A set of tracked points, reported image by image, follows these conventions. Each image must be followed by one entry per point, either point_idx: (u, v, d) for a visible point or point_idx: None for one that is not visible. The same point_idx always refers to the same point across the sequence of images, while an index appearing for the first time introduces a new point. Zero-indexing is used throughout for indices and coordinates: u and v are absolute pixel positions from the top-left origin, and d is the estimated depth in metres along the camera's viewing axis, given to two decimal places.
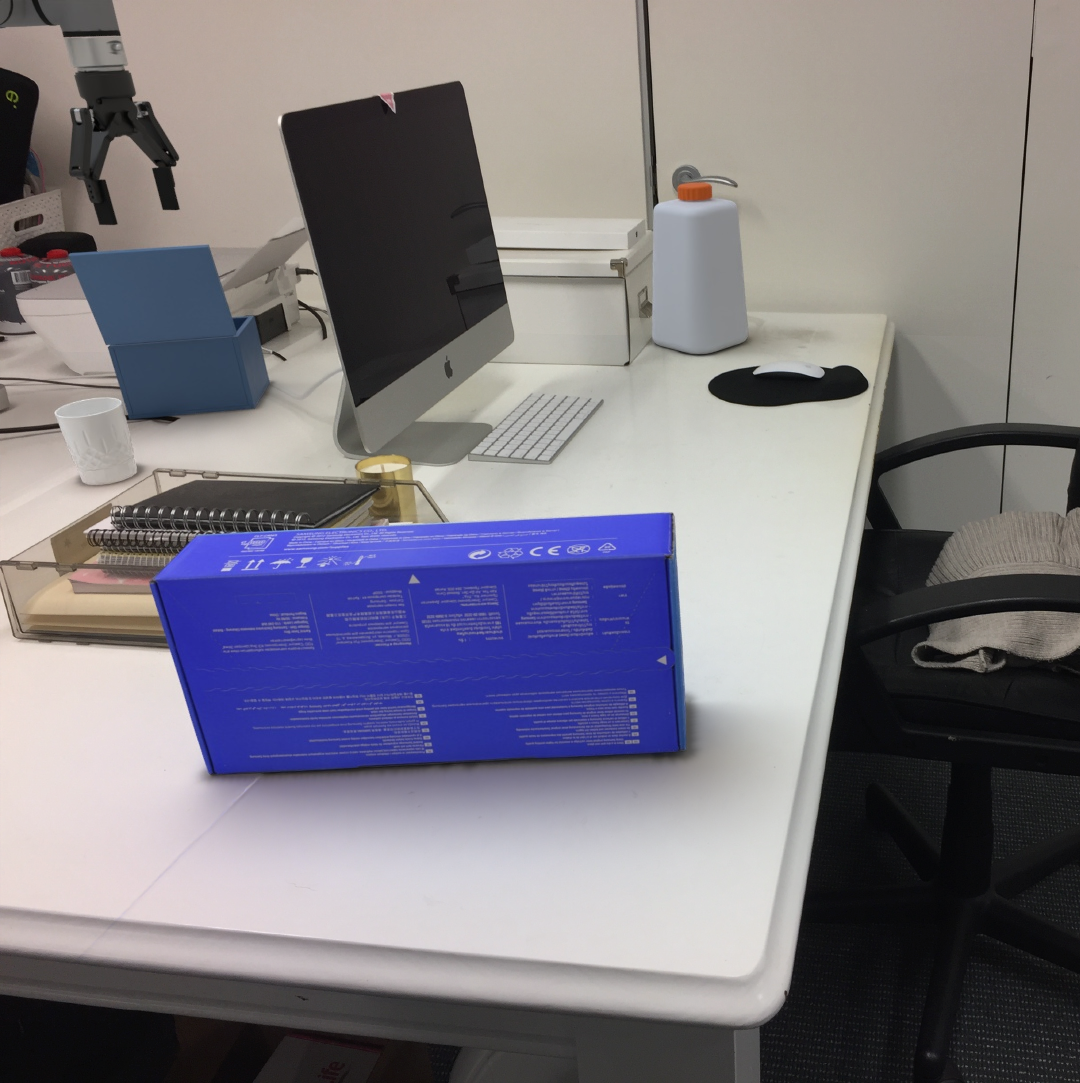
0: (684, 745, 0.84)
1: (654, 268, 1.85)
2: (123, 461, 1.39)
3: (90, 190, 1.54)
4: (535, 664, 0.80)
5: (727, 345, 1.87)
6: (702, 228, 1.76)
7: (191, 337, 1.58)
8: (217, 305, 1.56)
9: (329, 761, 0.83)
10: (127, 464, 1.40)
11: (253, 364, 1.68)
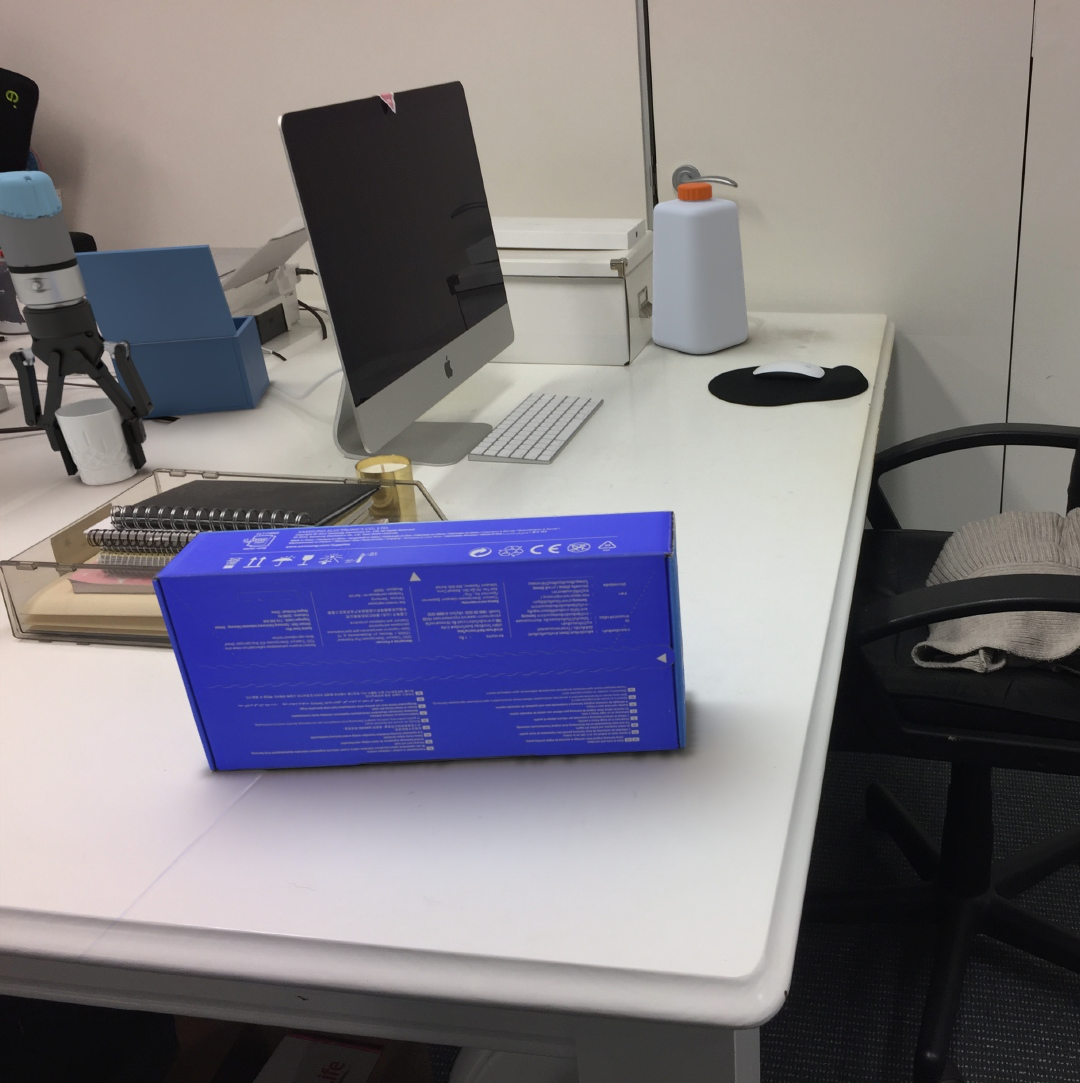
0: (684, 743, 0.84)
1: (654, 268, 1.85)
2: (123, 461, 1.39)
3: None
4: (535, 661, 0.80)
5: (727, 345, 1.87)
6: (702, 228, 1.76)
7: (191, 337, 1.58)
8: (217, 305, 1.56)
9: (330, 758, 0.84)
10: (127, 464, 1.40)
11: (253, 364, 1.68)
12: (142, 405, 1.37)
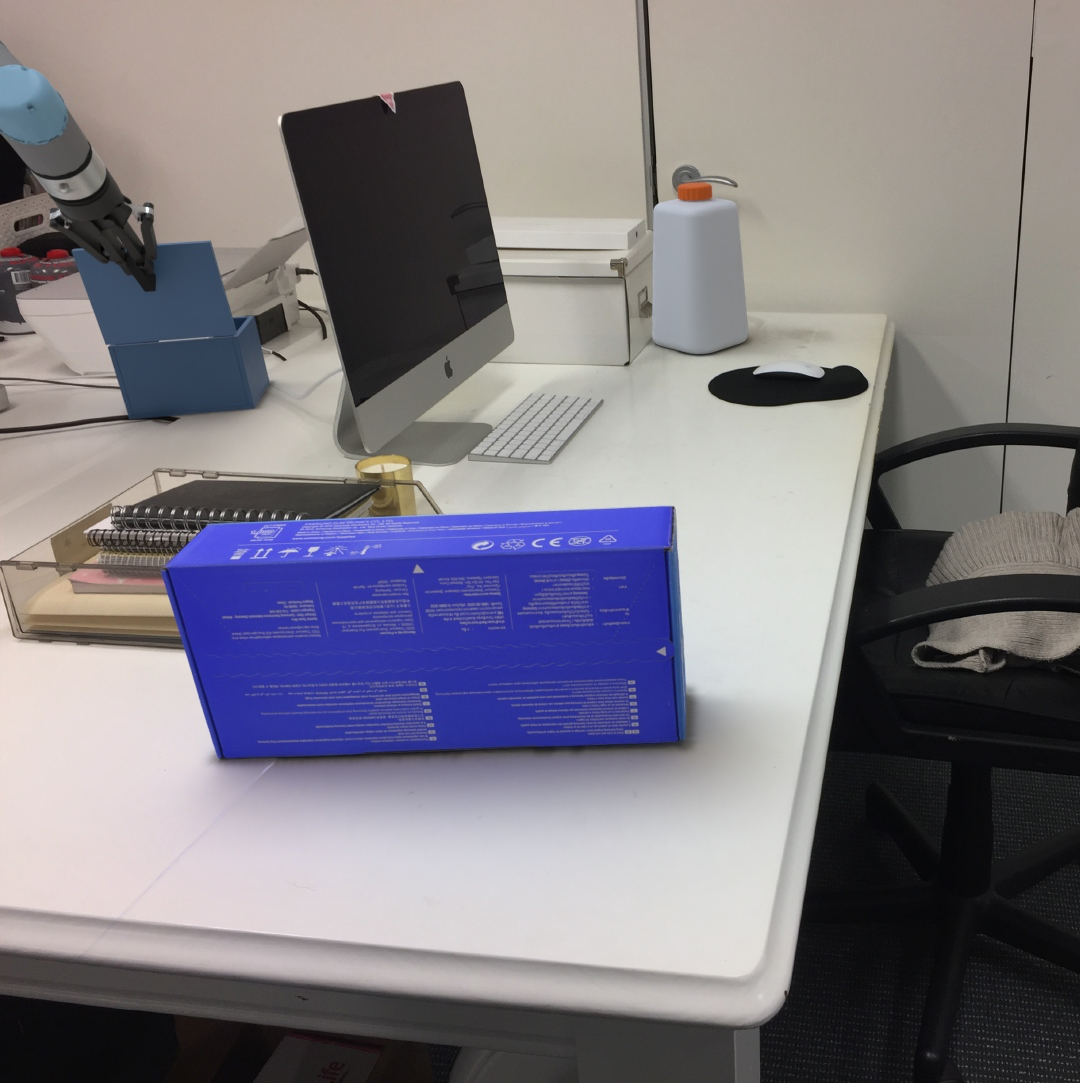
0: (683, 736, 0.85)
1: (654, 268, 1.85)
2: None
3: None
4: (537, 654, 0.81)
5: (727, 345, 1.87)
6: (702, 228, 1.76)
7: (191, 337, 1.58)
8: (218, 303, 1.56)
9: (335, 747, 0.85)
10: None
11: (253, 364, 1.68)
12: (152, 254, 1.43)
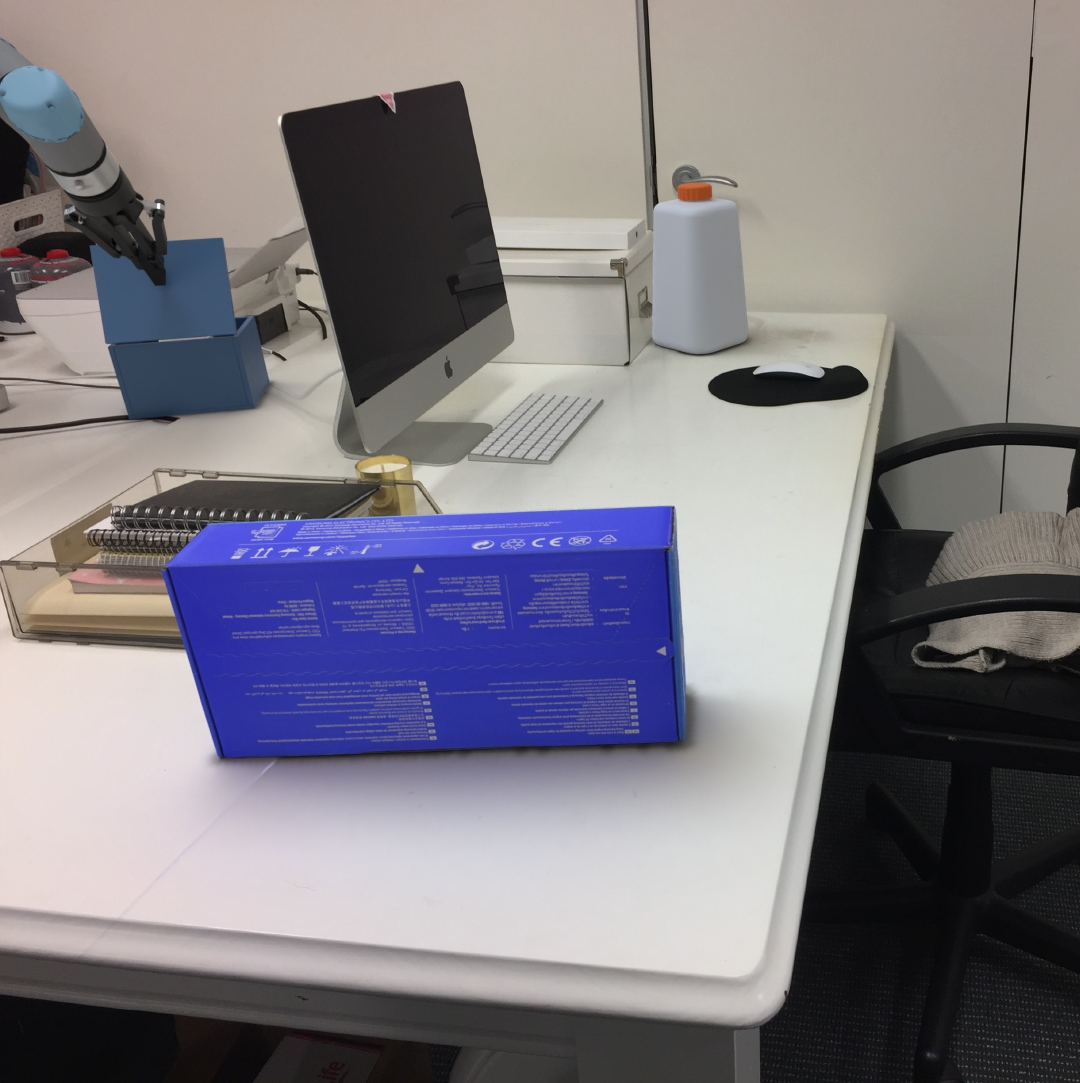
0: (683, 735, 0.85)
1: (654, 268, 1.85)
2: None
3: None
4: (537, 653, 0.81)
5: (727, 345, 1.87)
6: (702, 228, 1.76)
7: (191, 335, 1.58)
8: (222, 299, 1.59)
9: (335, 746, 0.85)
10: None
11: (253, 364, 1.68)
12: (163, 249, 1.48)
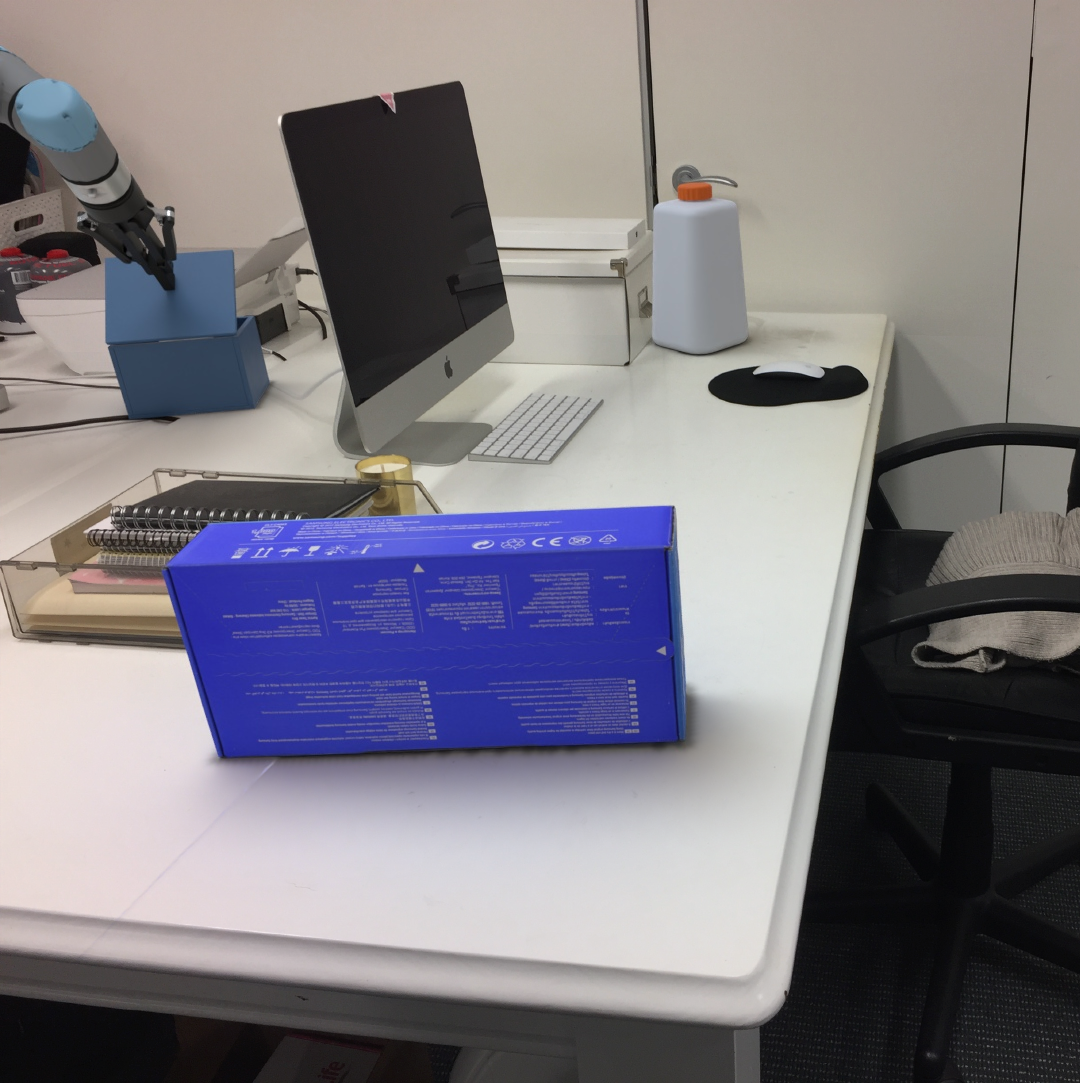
0: (683, 735, 0.85)
1: (654, 268, 1.85)
2: None
3: None
4: (537, 653, 0.81)
5: (727, 345, 1.87)
6: (702, 228, 1.76)
7: (191, 334, 1.58)
8: (225, 302, 1.60)
9: (335, 746, 0.85)
10: None
11: (253, 364, 1.68)
12: (172, 254, 1.52)
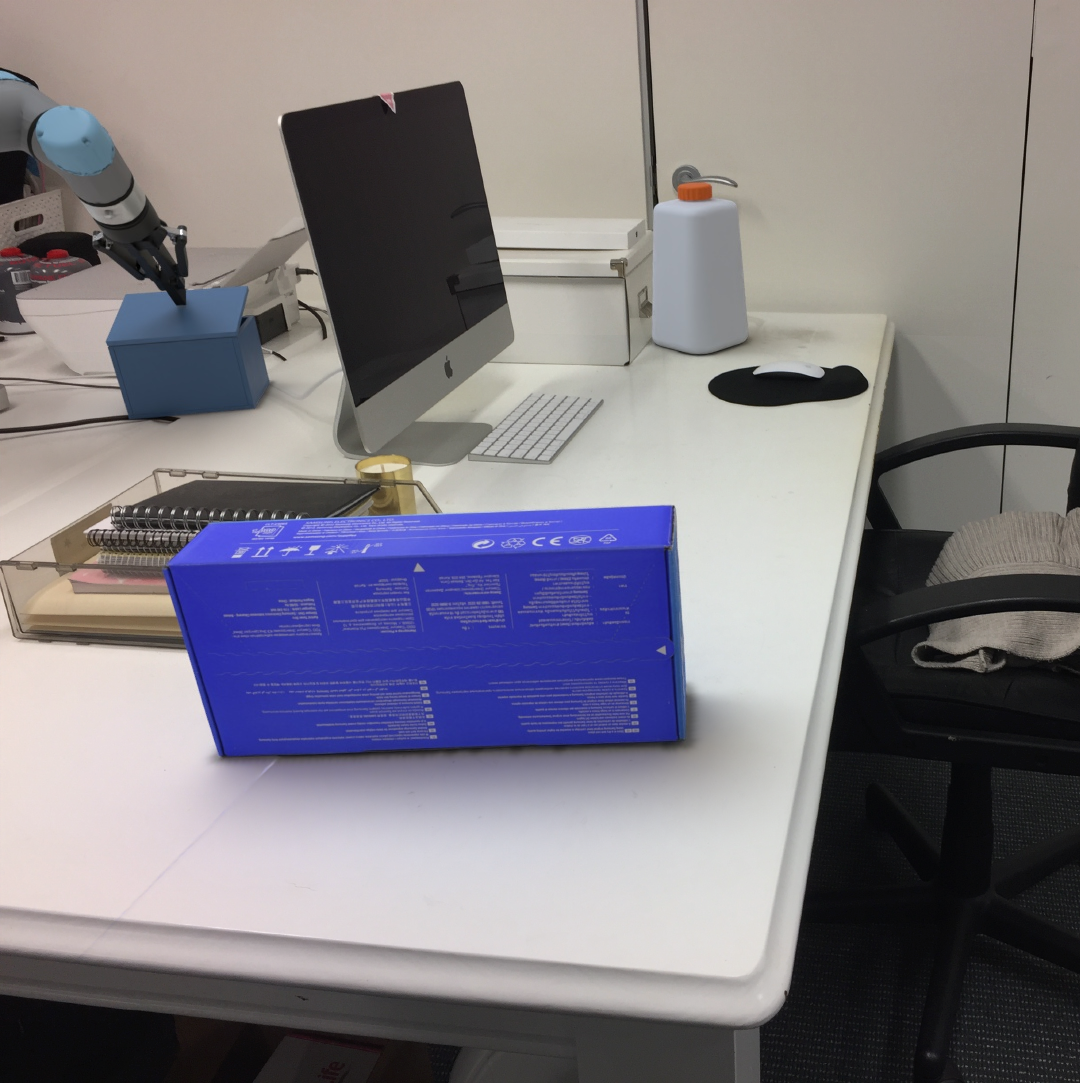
0: (683, 734, 0.85)
1: (654, 268, 1.85)
2: None
3: None
4: (537, 652, 0.81)
5: (727, 345, 1.87)
6: (702, 228, 1.76)
7: (191, 334, 1.59)
8: (231, 314, 1.63)
9: (336, 745, 0.85)
10: None
11: (253, 364, 1.68)
12: (184, 271, 1.57)
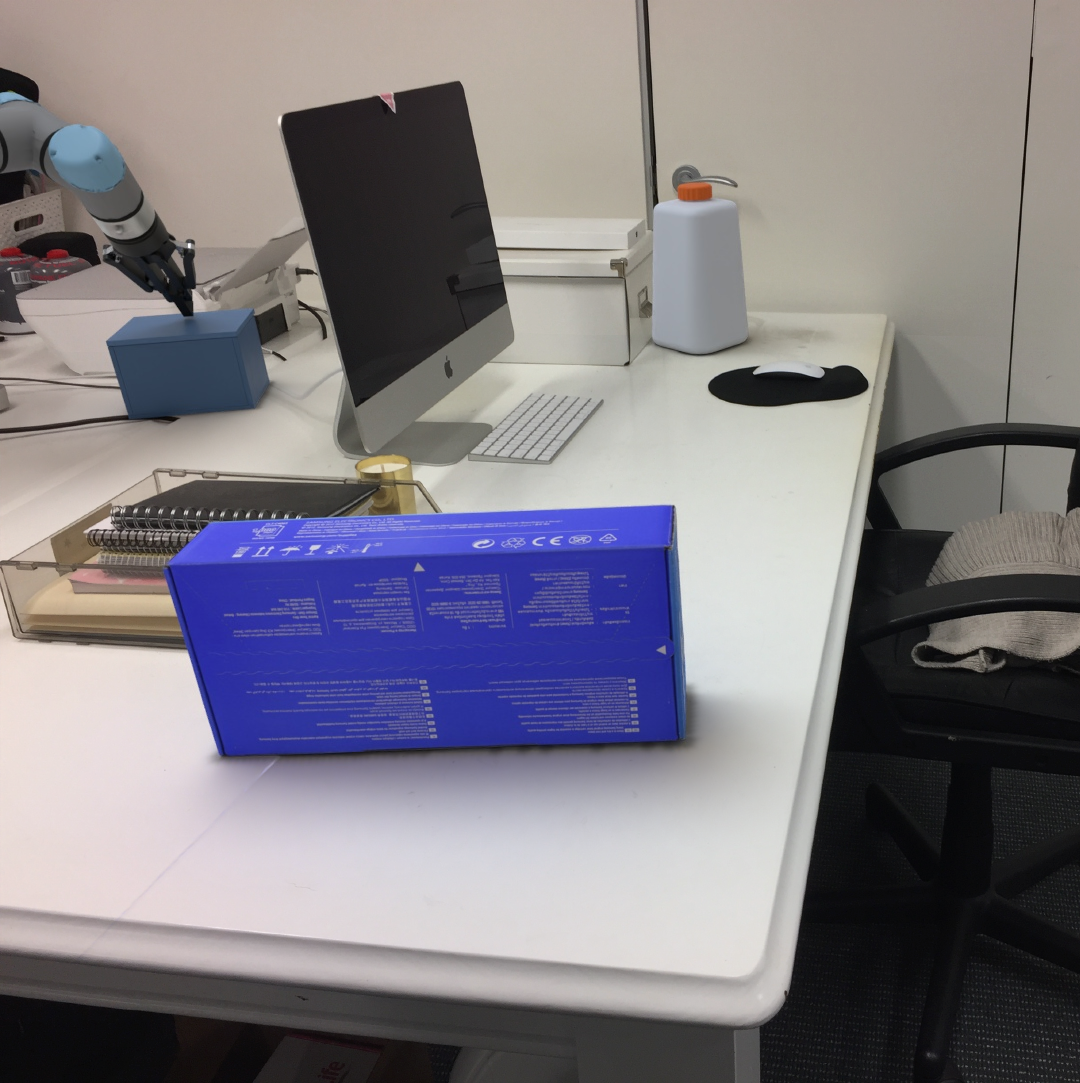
0: (683, 734, 0.85)
1: (654, 268, 1.85)
2: None
3: None
4: (537, 652, 0.82)
5: (727, 345, 1.87)
6: (702, 228, 1.76)
7: (192, 334, 1.59)
8: (234, 323, 1.64)
9: (336, 745, 0.85)
10: None
11: (253, 364, 1.68)
12: (192, 284, 1.60)
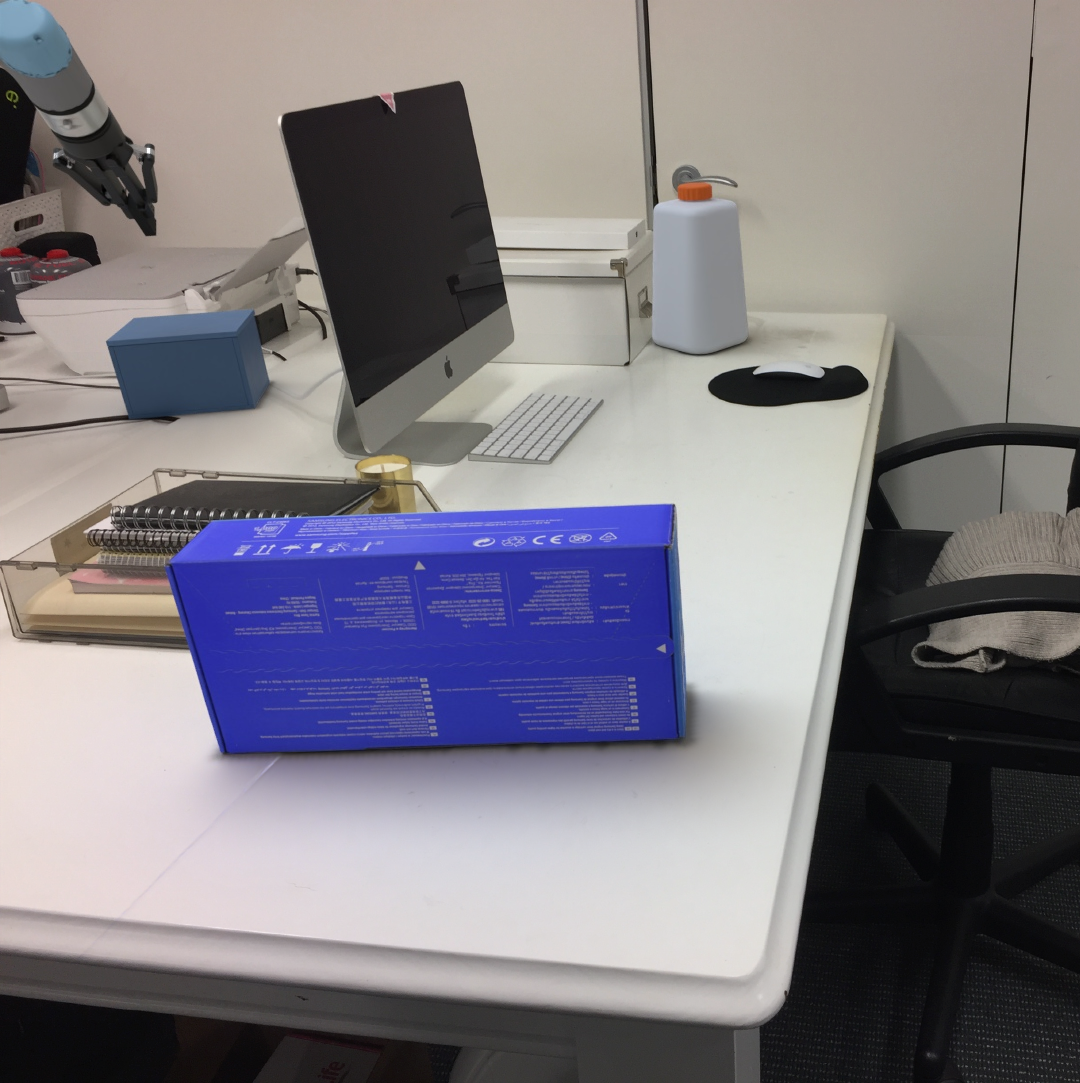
0: (683, 733, 0.85)
1: (654, 268, 1.85)
2: None
3: None
4: (537, 650, 0.82)
5: (727, 345, 1.87)
6: (702, 228, 1.76)
7: (192, 334, 1.59)
8: (234, 323, 1.64)
9: (337, 742, 0.85)
10: None
11: (253, 364, 1.68)
12: (153, 196, 1.47)
